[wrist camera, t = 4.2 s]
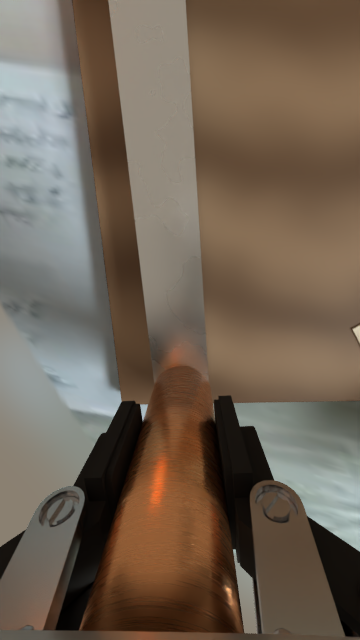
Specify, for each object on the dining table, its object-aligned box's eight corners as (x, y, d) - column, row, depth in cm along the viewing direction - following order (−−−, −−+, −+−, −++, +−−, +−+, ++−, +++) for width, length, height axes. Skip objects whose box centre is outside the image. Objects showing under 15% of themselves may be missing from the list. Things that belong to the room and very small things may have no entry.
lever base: (59, -180, 11) (41, -240, 9) (549, -266, 9) (604, -347, 8) (126, 394, 17) (121, 405, 16) (415, 389, 16) (434, 400, 15)
